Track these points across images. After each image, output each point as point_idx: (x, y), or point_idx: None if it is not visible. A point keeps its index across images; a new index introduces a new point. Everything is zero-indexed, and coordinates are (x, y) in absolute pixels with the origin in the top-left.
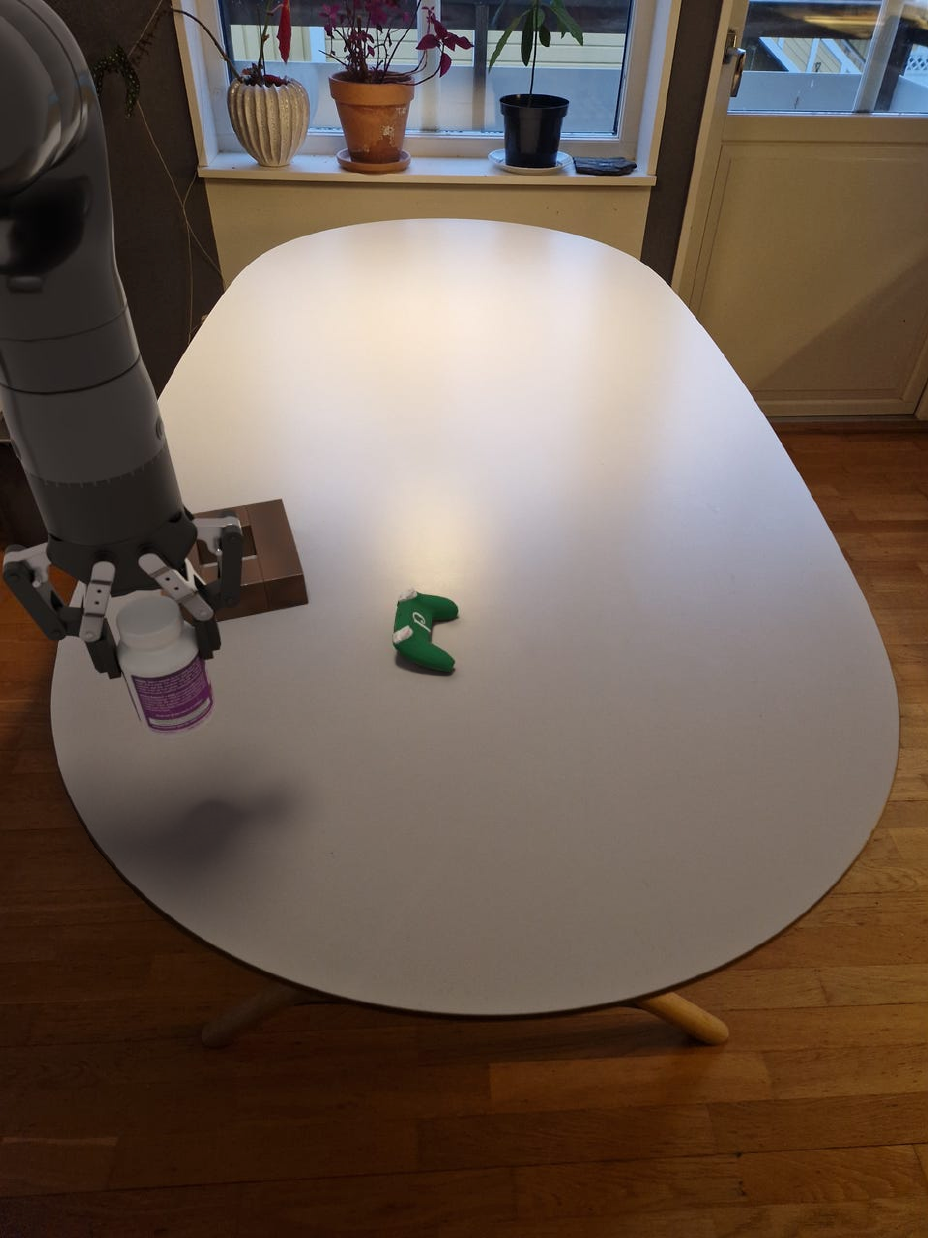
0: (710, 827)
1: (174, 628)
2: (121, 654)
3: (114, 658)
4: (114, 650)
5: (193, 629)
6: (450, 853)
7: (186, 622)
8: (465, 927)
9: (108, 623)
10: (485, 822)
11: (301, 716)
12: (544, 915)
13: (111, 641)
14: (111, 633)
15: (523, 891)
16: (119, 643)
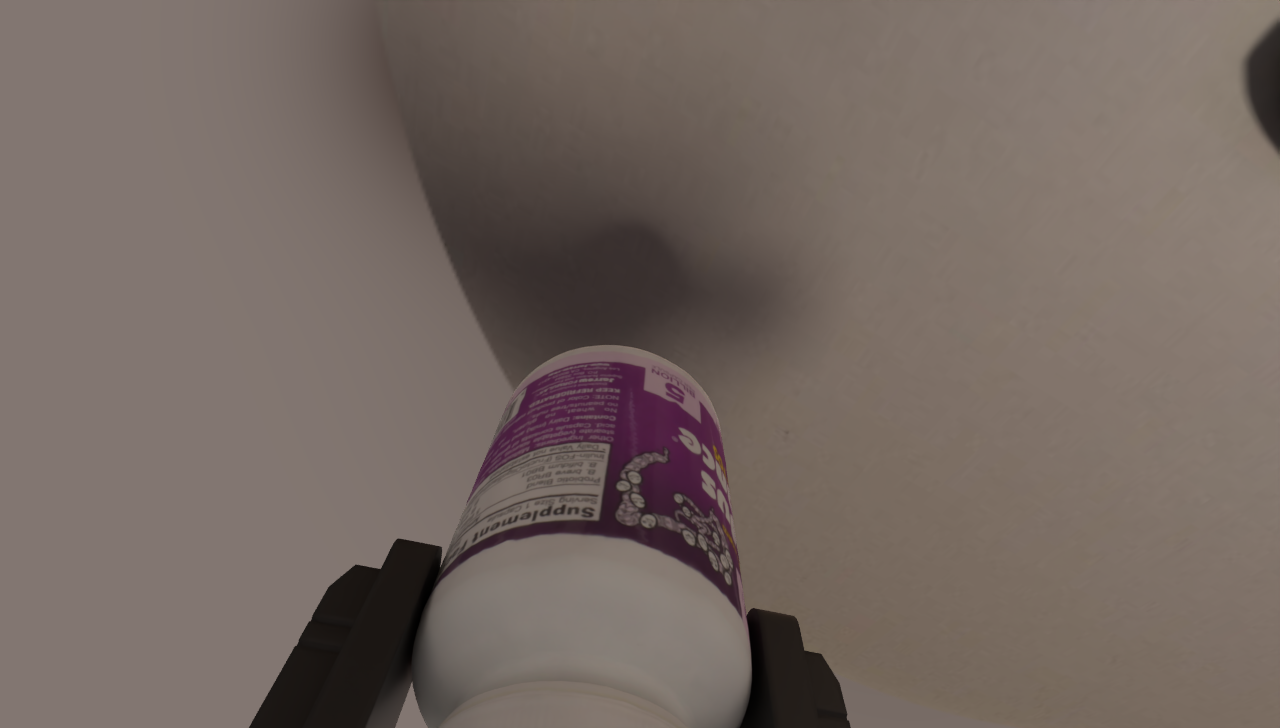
0: (1269, 650)
1: None
2: (426, 721)
3: (398, 712)
4: (402, 677)
5: (743, 711)
6: (940, 516)
7: (732, 695)
8: (876, 600)
9: (367, 725)
10: (1027, 502)
11: (927, 101)
12: (971, 632)
13: (384, 717)
14: (388, 677)
15: (977, 600)
16: (424, 678)
